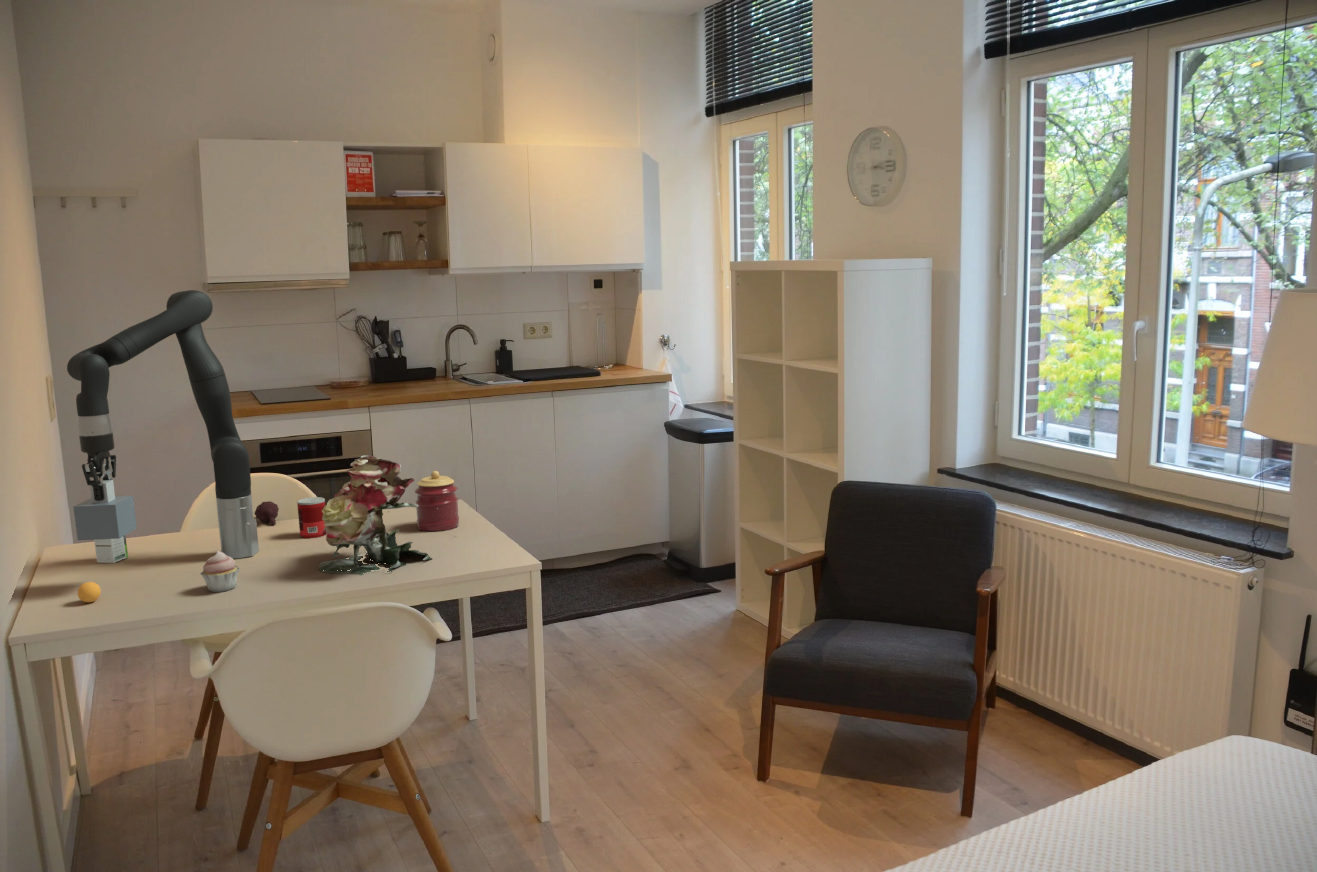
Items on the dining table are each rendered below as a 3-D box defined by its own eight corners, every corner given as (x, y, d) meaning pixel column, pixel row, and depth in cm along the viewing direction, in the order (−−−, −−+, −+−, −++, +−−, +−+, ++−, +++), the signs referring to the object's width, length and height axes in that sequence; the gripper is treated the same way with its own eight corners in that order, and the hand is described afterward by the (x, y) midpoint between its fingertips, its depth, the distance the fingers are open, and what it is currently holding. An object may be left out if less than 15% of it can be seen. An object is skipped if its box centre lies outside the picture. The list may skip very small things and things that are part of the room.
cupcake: (214, 582, 262) (210, 545, 260) (248, 583, 261) (244, 545, 259) (194, 594, 253) (190, 555, 251) (229, 594, 252) (225, 555, 250)
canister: (426, 521, 321) (422, 466, 318) (465, 521, 320) (462, 466, 317) (410, 531, 309) (406, 475, 306) (451, 532, 307) (448, 475, 304)
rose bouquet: (360, 546, 293) (353, 445, 288) (441, 556, 281) (435, 450, 276) (294, 571, 271) (284, 461, 266) (379, 583, 258) (370, 468, 253)
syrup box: (114, 563, 282) (108, 513, 279) (96, 562, 283) (89, 512, 281) (128, 557, 287) (123, 508, 285) (110, 557, 289) (104, 507, 286)
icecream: (247, 500, 329) (256, 513, 316) (270, 491, 332) (279, 504, 319) (255, 519, 331) (263, 532, 319) (277, 510, 334) (286, 523, 322)
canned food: (332, 533, 309) (330, 498, 307) (311, 539, 302) (308, 503, 300) (316, 530, 313) (313, 495, 311) (294, 536, 306) (291, 501, 304)
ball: (97, 604, 247) (106, 596, 251) (93, 585, 245) (102, 577, 250) (76, 606, 246) (85, 598, 251) (72, 587, 245) (80, 579, 250)
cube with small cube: (136, 528, 265) (130, 476, 263) (119, 538, 255) (112, 485, 253) (96, 530, 265) (90, 478, 262) (77, 540, 255) (70, 487, 252)
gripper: (98, 436, 249) (106, 504, 252) (123, 427, 263) (131, 491, 266) (66, 437, 248) (75, 505, 251) (93, 428, 262) (101, 492, 265)
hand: (103, 497), depth 258 cm, fingers closed on cube with small cube, 4 cm apart
